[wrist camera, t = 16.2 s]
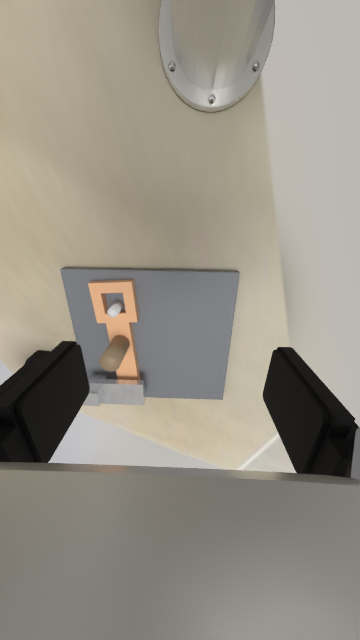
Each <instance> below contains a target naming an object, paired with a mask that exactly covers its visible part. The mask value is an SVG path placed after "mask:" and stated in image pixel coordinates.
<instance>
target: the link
mask: <svg viewBox="0 0 360 640" xmlns="http://www.w3.org/2000/svg"><path fill="white" fill-rule="evenodd" d="M88 286H89V290H90V294H91V299H92V303H93V307H94V311H95V316H96V320H97V323H106V326H107V331H108V335H109V340H110V344H109V345H108V347H107V348H106V350H105V351H104V353H103V354H102V356H101V357H100V359H99V364H100V366H101V367H102V368H103V369H104V370H106V371H116V373H117V377H118V380H141V379H140V372H139V366H138V360H137V353H136V347H135V341H134V334H133V328H132V322H138V320H139V312H138V305H137V298H136V291H135V283H134V279H132V280H106V281H91V282H90V283H88ZM105 293H123V298H124V304H125V310H121V311H120V312H119V314H118V315H117V316H116V317H114V318H112V317H110V316H109V315H108V314H107V311H108V306H107V301H106V296H105Z"/></svg>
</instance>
